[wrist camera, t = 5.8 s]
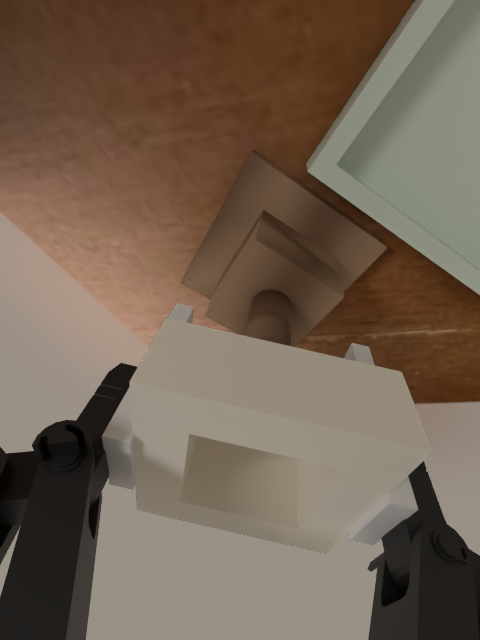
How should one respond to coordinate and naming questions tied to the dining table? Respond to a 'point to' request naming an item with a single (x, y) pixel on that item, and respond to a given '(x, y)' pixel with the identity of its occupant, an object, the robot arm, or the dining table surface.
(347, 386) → the ring
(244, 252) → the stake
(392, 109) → the tray
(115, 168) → the dining table surface
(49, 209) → the dining table surface
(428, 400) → the dining table surface
